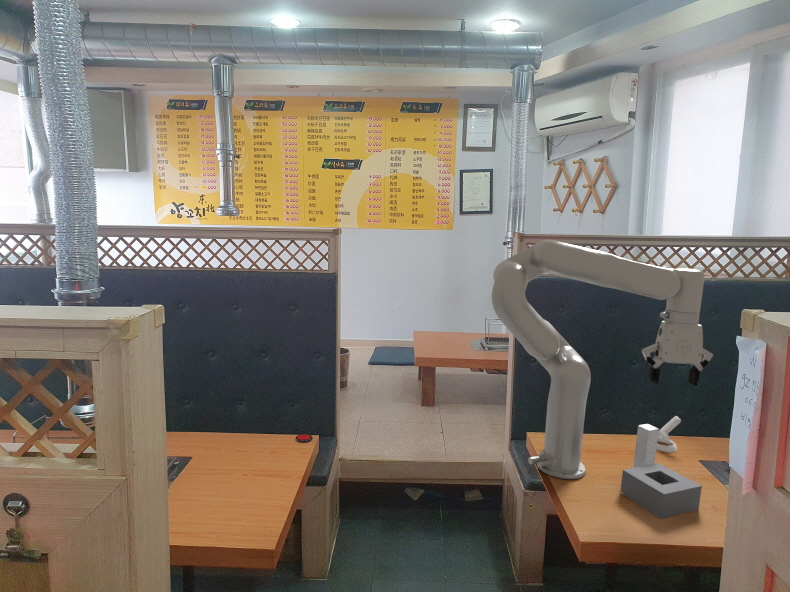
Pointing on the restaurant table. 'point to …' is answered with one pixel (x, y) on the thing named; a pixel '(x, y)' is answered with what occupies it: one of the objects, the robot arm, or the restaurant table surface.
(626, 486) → the well block
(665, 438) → the hook
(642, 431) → the steel post
